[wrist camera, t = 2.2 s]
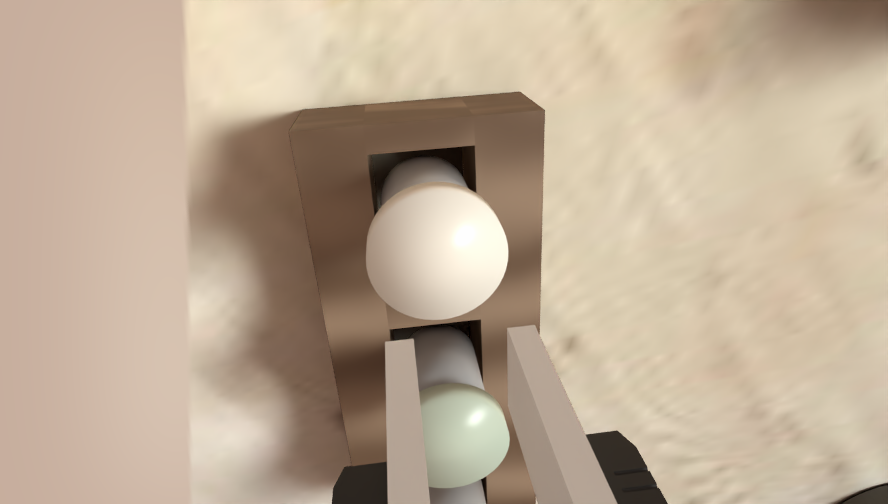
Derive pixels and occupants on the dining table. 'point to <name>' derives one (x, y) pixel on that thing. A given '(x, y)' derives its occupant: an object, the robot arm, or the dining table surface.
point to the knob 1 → (434, 242)
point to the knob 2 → (458, 494)
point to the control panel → (345, 238)
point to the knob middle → (456, 410)
